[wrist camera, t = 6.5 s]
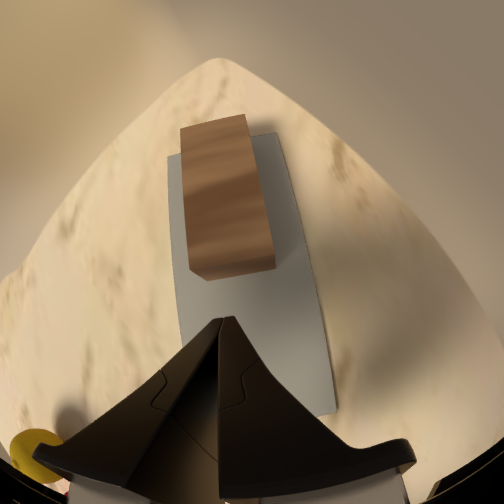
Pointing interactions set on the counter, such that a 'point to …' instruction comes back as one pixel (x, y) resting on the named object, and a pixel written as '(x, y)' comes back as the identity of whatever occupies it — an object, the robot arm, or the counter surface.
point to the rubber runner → (262, 288)
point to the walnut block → (223, 201)
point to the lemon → (23, 451)
